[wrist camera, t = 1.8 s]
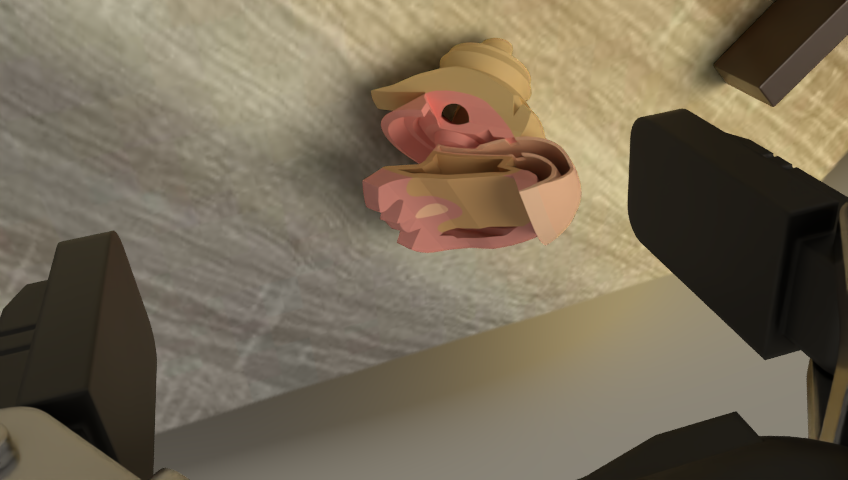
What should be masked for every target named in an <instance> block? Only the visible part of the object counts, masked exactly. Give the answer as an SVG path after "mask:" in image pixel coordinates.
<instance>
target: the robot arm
mask: <svg viewBox="0 0 848 480" xmlns="http://www.w3.org/2000/svg"><path fill="white" fill-rule="evenodd" d="M628 215H629V220H630V223H631V226H632V229H633V231H634V233H635V235H636V237H637V238H638V240H639V241H640V242H641V243H642V244H643V245H644V246H645V247H646V248H647V249H648V250H649V251H650V252H651V253H652V254H653V255H654V256H656V257H657V258H658V259H659V260H660V261H661V262H662V263H663V264H664V265H665V266H666V267H667V268H668V269H669V270H670V271H671V272H672V273H673V274H675V275H676V276H677V277H678V278H679V279H680V280H681V281H682V282H683V283H684V284H685V285H686V286H687V287H688V288H689V289H690V290H691V291H692V292H694V293H695V294H696V295H697V296H698V297H699V298H700V299H701V300H702V301H703V302H704V303H705V304H706V305H707V306H708V307H709V308H710V309H712V310H713V311H714V312H715V313H716V314H717V315H718V316H719V317H720V318H721V319H722V320H723V321H724V322H725V323H726V324H727V325H728V326H729V327H731V328H732V329H733V330H734V331H735V332H736V333H737V334H738V335H739V336H740V337H741V338H742V339H743V340H744V341H745V342H746V343H747V344H748V345H749V346H751V347H752V348H753V349H754V350H755V351H756V352H757V353H758V354H759V355H760V356H761V357H762V358H763V359H764V360H767V359H771V358H774V357H778V356H781V355H785V354H788V353H792V352H795V351H799V350H802V351H803V352H804V353H805V354H806V355H807V356H808V357H810V360H809V365H808V371H807V410H808V438H799V437H790V436H758V435H757V433H756V432H755V431H754V430H753V429H752V428H751V427H750V426H749V425H748V424H747V423H746V422H745V420H743V418H742V417H741V416H740V415H739V414H738V413H737V412H732V413H729V414H726V415H722V416H719V417H715V418H712V419H709V420H705V421H702V422H699V423H695V424H692V425H688V426H685V427H682V428H678V429H675V430H672V431H668V432H665V433H662V434H658V435H655V436H654V437H652V438H650V439H648V440H647V441H645V442H643V443H641V444H640V445H638V446H637V447H635V448H633V449H631V450H630V451H628V452H626V453H624V454H623V455H621V456H619V457H618V458H616V459H614V460H613V461H611V462H609V463H608V464H606V465H604V466H602V467H601V468H599V469H597V470H596V471H594V472H592V473H591V474H589V475H587V476H585V477H583V478H581V479H578V480H848V197H846V196H845V195H843V194H841V193H840V192H838V191H836V190H835V189H833V188H831V187H829V186H828V185H826V184H824V183H823V182H821V181H819V180H818V179H816V178H814V177H812V176H811V175H809V174H807V173H806V172H804V171H802V170H801V169H799V168H797V167H796V168H793V167H792V164H790V163H789V162H787V161H785V160H784V159H782V158H780V157H779V156H776V157H774V156H773V153H772V152H770V151H768V150H767V149H765V148H763V147H762V146H760V145H758V144H756V143H755V142H753V141H751V140H749V139H746V138H742V137H739V136H735V135H732V134H729V133H725V132H723V131H722V130H720V129H718V128H717V127H715V126H713V125H712V124H710V123H708V122H707V121H705V120H703V119H702V118H700V117H698V116H697V115H695V114H693V113H692V112H690V111H688V110H686V109H678V110H673V111H668V112H663V113H659V114H654V115H649V116H645V117H640V118H638V119H637V120H636V121H635V122H634V124H633V126H632V130H631V137H630V160H629V184H628ZM156 372H157V356H156V348H155V342H154V337H153V332H152V328H151V325H150V321H149V318H148V315H147V313H146V310H145V307H144V304H143V301H142V298H141V296H140V293H139V290H138V287H137V284H136V281H135V278H134V276H133V273H132V270H131V267H130V264H129V261H128V259H127V256H126V253H125V250H124V247H123V245H122V242H121V240H120V238H119V236H118V234H117V233H116V232H115V231H109V232H104V233H100V234H95V235H90V236H86V237H81V238H76V239H72V240H67V241H62V242H59V243H58V245H57V247H56V251H55V255H54V259H53V263H52V266H51V270H50V274H49V278H48V280H45V281H41V282H36V283H32V284H27V285H26V286H25V287H24V288H23V289H22V290H21V291H20V292H19V293H18V294H17V295H16V296H15V297H14V298H13V299H12V300H11V301H10V303H9V304H8V305H7V306H6V307H5V308H4V309H3V311H2V314H1V317H0V480H189V479H188V478H186V477H185V476H183V475H181V474H180V473H178V472H177V471H174V470H172V469H168V468H162V469H160V470H159V471H158V472H156V473H155V474H154V475H153V465H154V434H155V403H156Z"/></svg>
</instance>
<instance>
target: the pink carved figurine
mask: <svg viewBox="0 0 848 480" xmlns="http://www.w3.org/2000/svg"><path fill="white" fill-rule="evenodd" d="M512 50H513V47H512V45H511V44H510V43H509V42H508V41H506V40H504V39H500V38H490V39H487V40H485V41H483V42H482V43H481V44H480V43H461V44H458V45H455V46H454V47H452V48H451V49H450V51H449V53H447V54H446V55H444V56H443V57H442V58H441V60H440V68H439V69H436V70H432V71H428V72H424V73H421V74H417V75H414V76H412V77H410V78H407V79H405V80H403V81H401V82H398V83H396V84H394V85H391V86H387V87H383V88H378V89H374V90H371V95H372V99H373V101H374V103H375V105H376V106H377V108H378V109H383V110H391V111H392V112H390V113H388V114H386V115H385V116H384V117H383V119H382V121H381V128H382V131H383V133H384V135H385V136H386V137H387V139H388V140H389V141H390V142H391V143H392V144H393V145H394V146H395V147H396V148H397V149H398V150H400V151H401V152H402V153H403V154H405V155H406V156H408V157H409V158H411V159H412V160H414V161H415V162H417V163H419V164H413V165H399V166H384V167H383V168H381V169H380V170H378V171H376V172H375V173H373V174H372V175H370V176H369V177H367V178H366V179H364V180H363V181H362V182H363V194H364V200H365V204H366V207H367V208H370V209H372V210H374V211H377V212H380V213H381V216H380V219H381V220H385V222H386V223H387V224H388V225H389V226H390V227H391V228H392V229H396V230H400V234H399V237H398V240H397V243H399V244H401V245H403V246H405V247H407V248H409V249H411V250H414V251H417V252H425V253H429V252H438V251H444V250H451V249H460V248H487V249H495V248H501V247H506V246H511V245H515V244H518V243H522V242H525V241H528V240H530V239H533V238H535V237H538V238H539V240H540V241H541V242H542V243H543V244H544V245H545V246H546V245H547V244H549V243H550V242H552V241H553V240H555V239H556V238H557V237H559V236H560V235H561V234H562V233H563V232H564V231H565V230H566V228H567V227H568V226H569V225H570V223H571V222H572V220H573V219H574V217H575V214H576V212H577V210H578V207H579V205H580V201H581V183H580V180H579V176H578V173H577V170H576V168H575V166H574V164H573V163H572V161H571V159H570V158H569V156H568V155H567V153H566V152H565V151H564V149H563V148H562V147H561V146H559V145H558V144H556V143H554V142H552V141H550V140H547V139H546V138H545V134H544V130H543V127H542V124H541V122H540V120H539V118H538V117H537V116H536V114H535V113H534V112H533V111H532V110H531V109H530V107H529V106H528V105H527V103H526V101H527V100H528V99H529V98H530V96H531V86H530V82H531V77H530V74H529V72H528V70H527V69H526V67H525V66H524V65H523V64H522V63H521V62H520V61H518V60H517V59H516V58H514V57H513V56H512ZM449 104H458V107H457V109H456V112H455V114H454V117H453V119H452V122H451V121H450V120H448V119H447V118H446V117H444V116H443V115H442V110H443V109H444V107H445V106H447V105H449Z"/></svg>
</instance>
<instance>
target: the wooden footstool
mask: <svg viewBox="0 0 848 480" xmlns="http://www.w3.org/2000/svg"><path fill="white" fill-rule="evenodd" d="M847 35H848V0H776V1H775V2H774V3H773V4H772V5H771V6H770V8H769V9H768V10H767V11H766V12H765V13H764V14H763V15H762V16H761V17H760V18H759V19H758V20H757V21H756V22H755V23H754V24H753V25H752V26H751V27H750V28H749V29H748V30H747V31H746V32H745V33H744V34H743V35H742V36H741V37H740V38H739V39H738V40H737V41H736V42H735V43H734V44H733V45H732V46H731V47H730V48H729V49H728V50H727V51H726V52H725V53H724V54H723V55H722V56H721V57H720V58H719V59H718V60H717V61H716V62H715V63H714V65H713V66H714V67H715V68H716V70H717V71H718V72H719V74H720V75H721V76H722V77H723V79H724V80H725V81H726V83H727V84H729V85H731V86H733V87H735V88H737V89H739V90H741V91H743V92H745V93H746V94H748V95H750V96H752V97H754V98H756V99H758V100H760V101H762V102H764V103H766V104H768V105H770V106H772V107H774V106H776V105H777V104H778V103H779V102H780V101H781V100H782V99H783V98H784V97H785V96H786V95H787V94H788V93H789V92H790V91H791V90H792V89H793V88H794V87H795V86H796V85H797V84H798V83H799V82H800V81H801V80H802V79H803V78H804V77H805V76H806V75H807V74H808V73H809V72H810V71H811V70H812V69H813V68H814V67H815V66H816V65H817V64H818V63H819V62H820V61H821V60H822V59H823V58H824V57H825V56H827V55H828V54H829V53H830V52H831V51H832V50H833V49H834V48H835V47H836V46H837V45H838V44H839V43H840V42H841V41H842V40H843V39H844V38H845V37H846V36H847Z"/></svg>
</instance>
